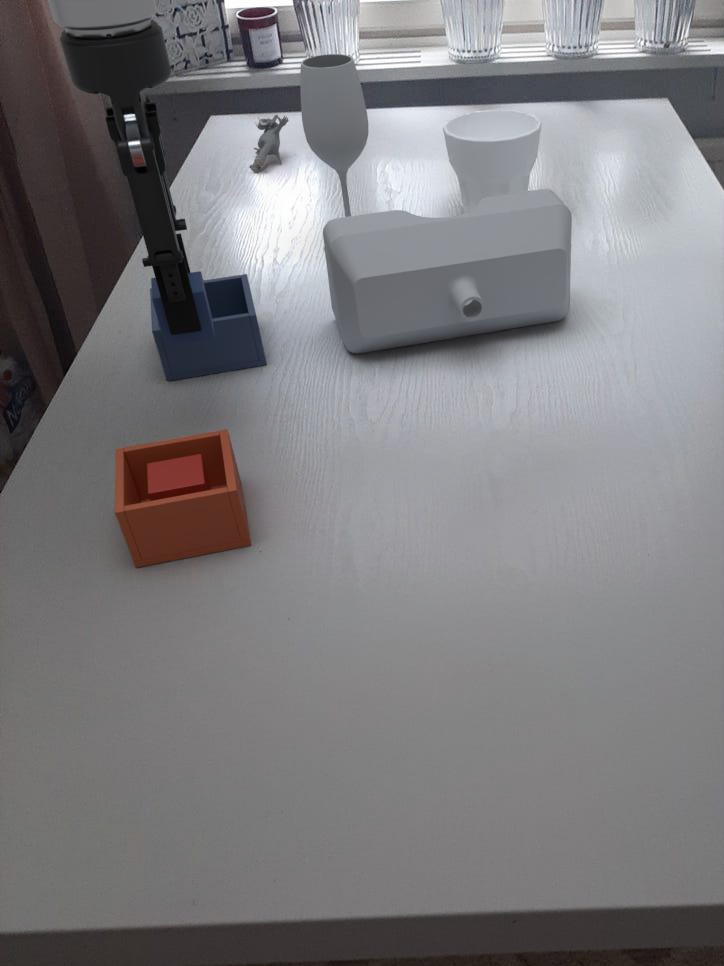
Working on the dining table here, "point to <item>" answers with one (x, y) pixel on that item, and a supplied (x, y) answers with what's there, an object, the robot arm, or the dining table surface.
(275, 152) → the elephant figurine
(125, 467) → the terracotta bin
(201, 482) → the red block
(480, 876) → the dining table surface
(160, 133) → the robot arm
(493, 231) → the tank
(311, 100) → the wineglass
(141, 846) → the dining table surface
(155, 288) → the blue block
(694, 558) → the dining table surface
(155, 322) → the slate bin
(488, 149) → the cup
